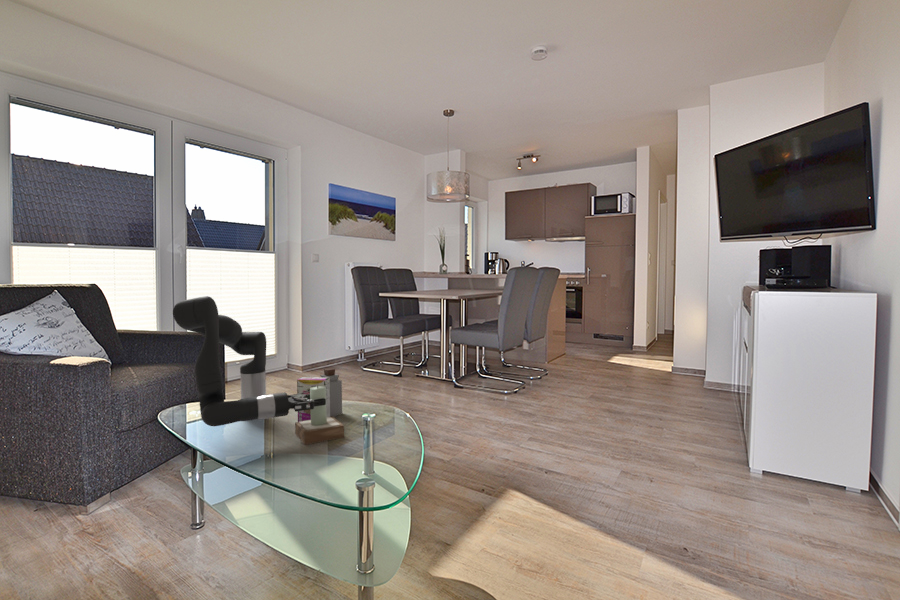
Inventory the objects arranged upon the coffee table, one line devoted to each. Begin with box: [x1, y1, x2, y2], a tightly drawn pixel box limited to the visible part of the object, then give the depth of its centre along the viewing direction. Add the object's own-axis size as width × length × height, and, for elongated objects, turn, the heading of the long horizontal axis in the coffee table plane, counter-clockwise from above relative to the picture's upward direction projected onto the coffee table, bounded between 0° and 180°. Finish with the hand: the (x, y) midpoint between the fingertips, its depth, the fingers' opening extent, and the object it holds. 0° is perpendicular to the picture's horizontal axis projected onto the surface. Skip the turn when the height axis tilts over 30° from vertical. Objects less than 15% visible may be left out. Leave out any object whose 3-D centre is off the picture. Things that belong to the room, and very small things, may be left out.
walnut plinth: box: [294, 416, 345, 446], centre depth 154 cm, size 13×13×4 cm
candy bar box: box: [296, 376, 330, 422], centre depth 171 cm, size 11×5×16 cm, turn 84°
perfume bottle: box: [319, 367, 343, 417], centre depth 180 cm, size 7×7×18 cm
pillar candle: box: [310, 385, 327, 425], centre depth 154 cm, size 5×5×13 cm
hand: (321, 398), depth 155 cm, fingers open, 8 cm apart
